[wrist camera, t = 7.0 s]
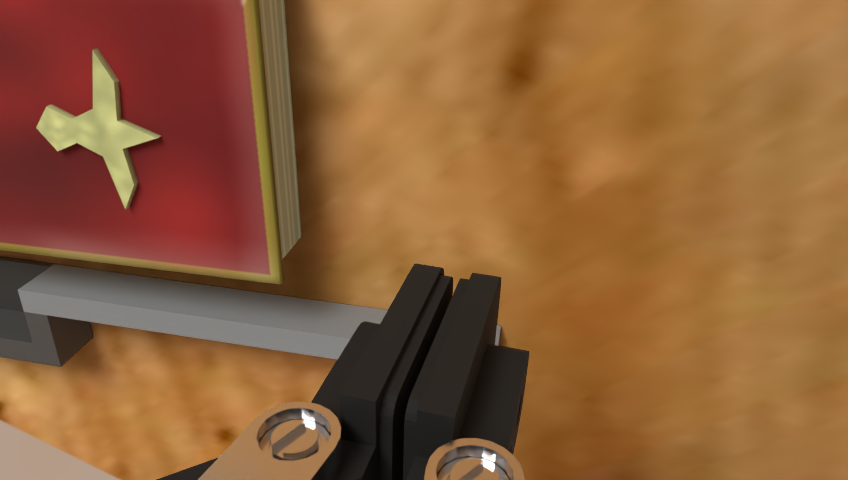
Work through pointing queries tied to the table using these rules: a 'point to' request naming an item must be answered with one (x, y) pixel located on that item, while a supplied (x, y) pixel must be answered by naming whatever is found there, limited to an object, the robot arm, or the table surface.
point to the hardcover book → (149, 134)
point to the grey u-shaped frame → (159, 313)
